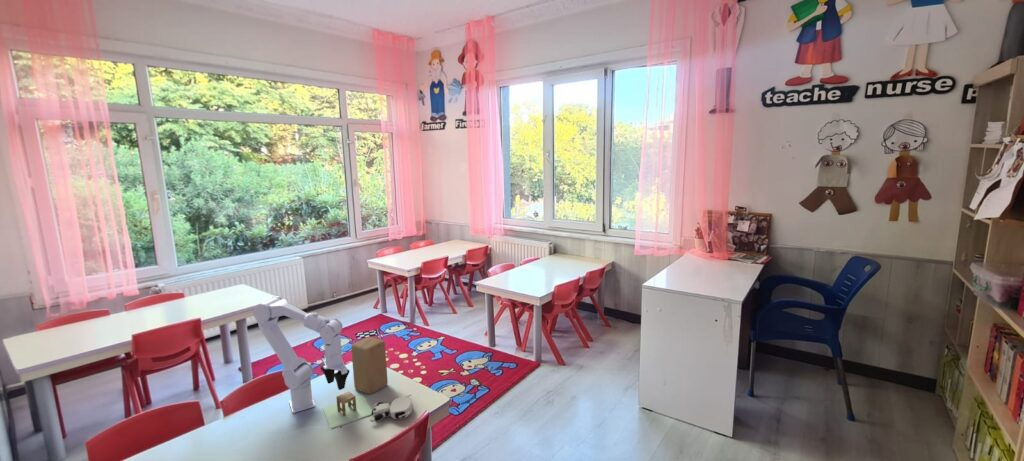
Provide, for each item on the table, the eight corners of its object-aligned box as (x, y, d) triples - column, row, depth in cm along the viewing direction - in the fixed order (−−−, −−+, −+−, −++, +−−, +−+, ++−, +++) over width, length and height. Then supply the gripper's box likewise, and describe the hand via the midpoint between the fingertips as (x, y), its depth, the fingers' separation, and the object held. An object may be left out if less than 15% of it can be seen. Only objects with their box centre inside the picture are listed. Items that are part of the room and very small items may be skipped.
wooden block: (388, 384, 178) (385, 340, 175) (369, 396, 170) (366, 349, 167) (372, 378, 184) (369, 335, 180) (353, 389, 175) (349, 344, 172)
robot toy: (370, 429, 150) (412, 421, 153) (368, 418, 150) (411, 410, 152) (375, 409, 162) (414, 402, 165) (373, 399, 162) (413, 392, 164)
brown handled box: (337, 411, 159) (336, 396, 158) (350, 405, 163) (349, 391, 162) (343, 416, 156) (342, 401, 155) (356, 410, 160) (355, 395, 159)
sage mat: (322, 408, 162) (322, 407, 162) (362, 396, 170) (362, 395, 170) (331, 428, 149) (331, 427, 149) (373, 414, 158) (373, 413, 158)
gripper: (313, 350, 159) (316, 383, 162) (333, 361, 151) (336, 396, 153) (330, 344, 165) (333, 376, 167) (351, 354, 156) (354, 388, 158)
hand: (336, 385), depth 160 cm, fingers open, 7 cm apart
